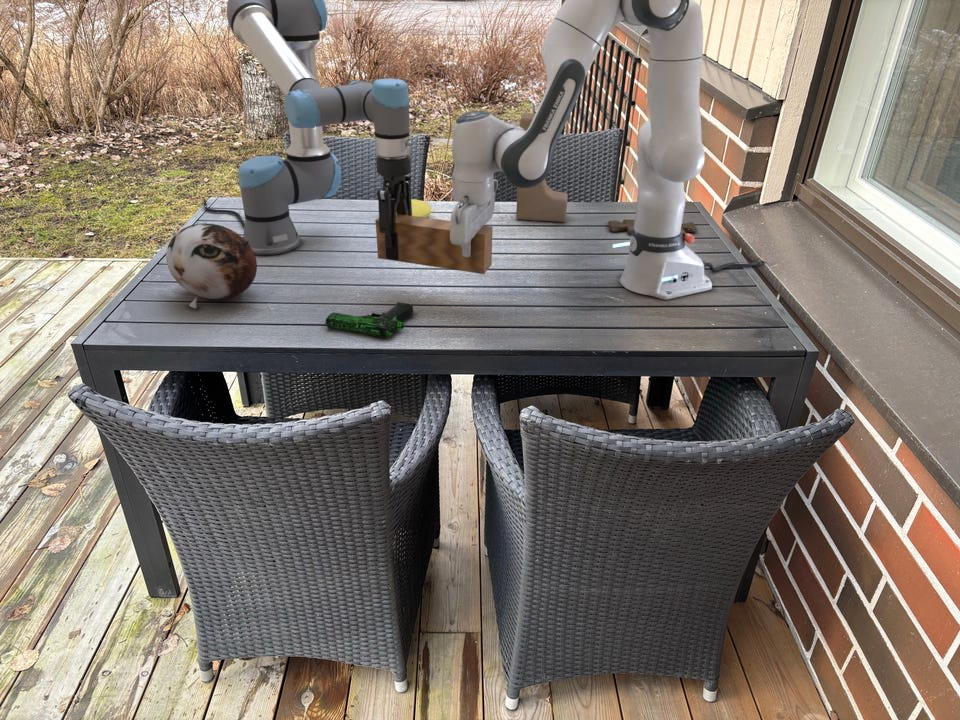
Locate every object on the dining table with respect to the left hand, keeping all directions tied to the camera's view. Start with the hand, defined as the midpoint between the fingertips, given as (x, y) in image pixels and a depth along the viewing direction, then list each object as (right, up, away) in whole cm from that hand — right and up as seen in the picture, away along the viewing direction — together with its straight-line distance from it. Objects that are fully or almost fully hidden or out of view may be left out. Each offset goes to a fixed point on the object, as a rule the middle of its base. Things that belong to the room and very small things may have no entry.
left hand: (397, 253), depth 168 cm
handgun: (-4, -17, -10) cm, 20 cm away
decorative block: (+38, +19, +51) cm, 66 cm away
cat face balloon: (-43, -10, +1) cm, 44 cm away
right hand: (+18, 0, -7) cm, 19 cm away
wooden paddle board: (+70, +14, +43) cm, 84 cm away
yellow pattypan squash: (-3, +18, +48) cm, 52 cm away
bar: (+9, -2, -2) cm, 9 cm away
